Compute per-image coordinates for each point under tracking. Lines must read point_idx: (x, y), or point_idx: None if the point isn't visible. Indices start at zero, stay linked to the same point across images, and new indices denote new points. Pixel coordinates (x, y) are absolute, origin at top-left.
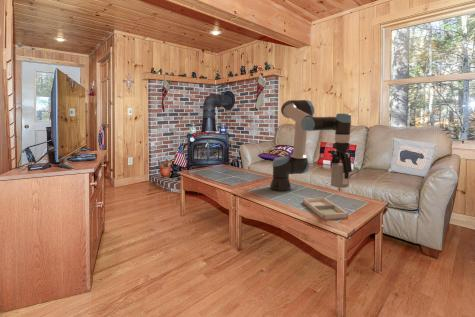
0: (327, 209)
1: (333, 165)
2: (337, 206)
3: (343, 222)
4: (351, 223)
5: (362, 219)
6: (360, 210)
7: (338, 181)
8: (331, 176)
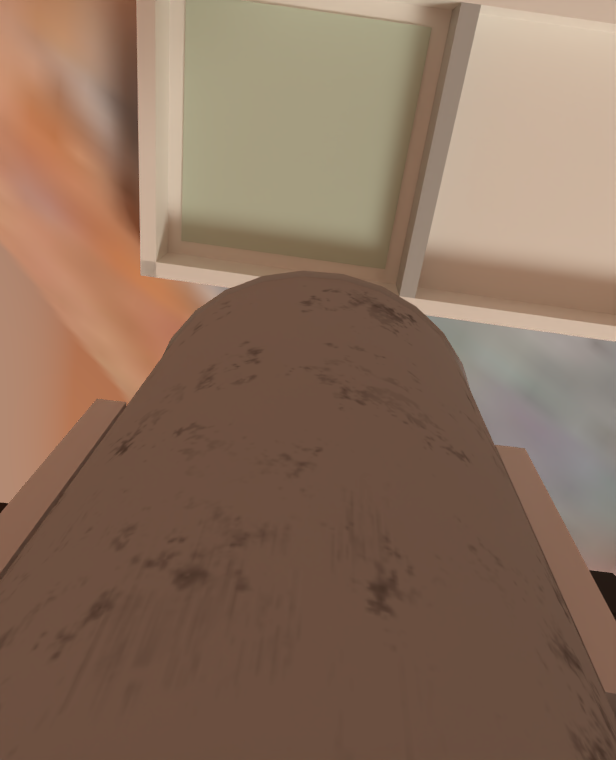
0: (392, 190)
1: (235, 740)
2: None
3: (49, 136)
4: (20, 198)
5: (97, 352)
6: None
7: (156, 370)
8: (403, 375)
